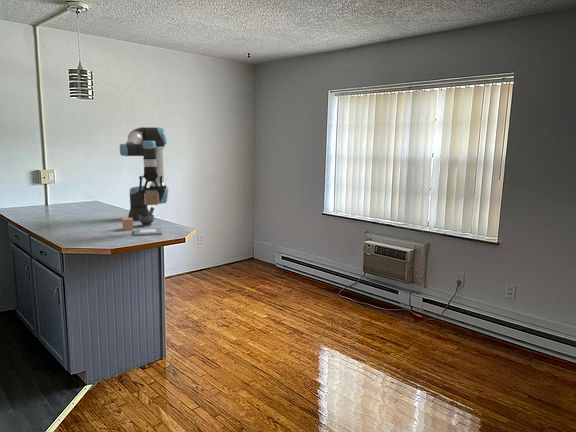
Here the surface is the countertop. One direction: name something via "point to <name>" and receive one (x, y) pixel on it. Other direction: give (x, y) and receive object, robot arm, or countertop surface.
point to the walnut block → (151, 197)
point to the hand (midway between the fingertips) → (151, 203)
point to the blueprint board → (147, 231)
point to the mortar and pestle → (147, 218)
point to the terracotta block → (127, 224)
